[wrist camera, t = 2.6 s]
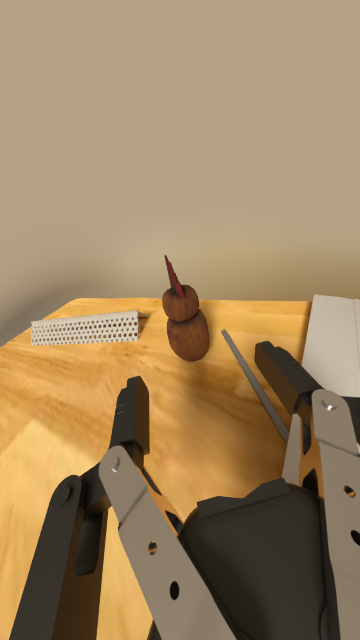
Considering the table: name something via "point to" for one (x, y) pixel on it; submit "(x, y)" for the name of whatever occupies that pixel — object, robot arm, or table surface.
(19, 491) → the table surface
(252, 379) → the thin grey rod
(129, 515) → the robot arm
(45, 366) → the table surface
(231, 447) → the table surface
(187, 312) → the wooden figurine
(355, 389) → the baseboard molding
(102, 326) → the corner bead
